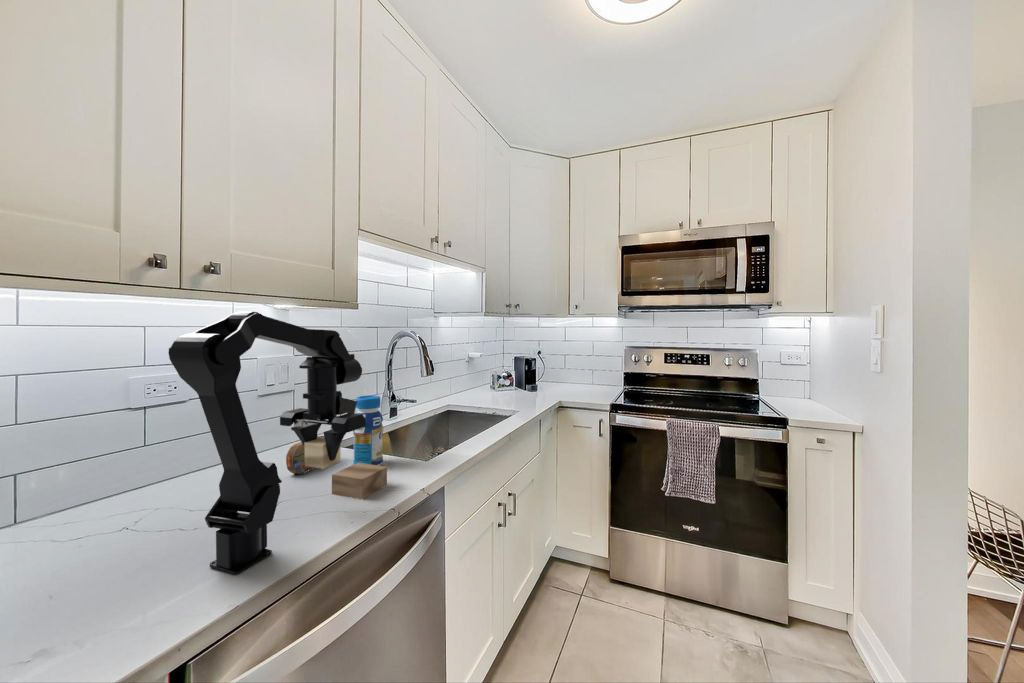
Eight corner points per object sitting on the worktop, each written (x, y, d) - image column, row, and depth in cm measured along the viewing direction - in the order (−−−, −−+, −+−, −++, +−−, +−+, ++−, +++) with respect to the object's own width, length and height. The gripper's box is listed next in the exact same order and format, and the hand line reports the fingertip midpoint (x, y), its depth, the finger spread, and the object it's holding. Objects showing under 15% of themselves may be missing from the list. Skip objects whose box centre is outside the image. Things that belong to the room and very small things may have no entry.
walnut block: (362, 500, 90) (362, 479, 90) (331, 495, 93) (331, 474, 93) (386, 486, 98) (386, 466, 98) (358, 481, 101) (358, 462, 101)
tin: (293, 478, 103) (293, 447, 102) (283, 477, 103) (283, 446, 103) (331, 460, 117) (331, 432, 117) (322, 459, 118) (321, 432, 118)
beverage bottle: (350, 463, 114) (349, 396, 114) (379, 458, 119) (379, 393, 118) (356, 472, 107) (355, 400, 107) (386, 466, 112) (386, 397, 111)
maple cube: (322, 468, 81) (322, 445, 81) (304, 465, 83) (304, 442, 83) (340, 461, 86) (340, 438, 86) (323, 458, 88) (322, 436, 88)
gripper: (381, 385, 89) (382, 452, 89) (318, 381, 95) (319, 444, 95) (346, 392, 78) (346, 468, 79) (277, 387, 84) (278, 458, 85)
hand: (322, 458), depth 85 cm, fingers closed on maple cube, 5 cm apart
